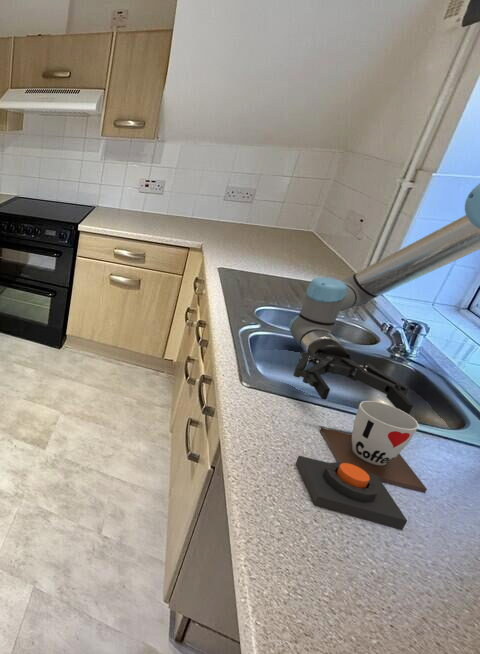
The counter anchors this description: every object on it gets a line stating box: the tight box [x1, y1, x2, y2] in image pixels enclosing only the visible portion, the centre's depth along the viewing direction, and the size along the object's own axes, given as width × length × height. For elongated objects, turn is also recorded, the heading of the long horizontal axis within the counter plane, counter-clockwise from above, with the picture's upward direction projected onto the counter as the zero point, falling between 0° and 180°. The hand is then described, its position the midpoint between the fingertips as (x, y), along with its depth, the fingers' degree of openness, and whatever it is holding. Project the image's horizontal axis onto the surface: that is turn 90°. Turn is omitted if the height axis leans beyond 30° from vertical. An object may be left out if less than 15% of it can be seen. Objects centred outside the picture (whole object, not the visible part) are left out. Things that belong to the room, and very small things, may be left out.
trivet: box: [319, 427, 428, 494], centre depth 82 cm, size 12×12×1 cm
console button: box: [337, 463, 370, 489], centre depth 73 cm, size 4×4×2 cm
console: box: [295, 455, 408, 531], centre depth 73 cm, size 12×10×4 cm
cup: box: [351, 400, 420, 466], centre depth 80 cm, size 8×8×10 cm
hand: (366, 402), depth 85 cm, fingers open, 13 cm apart
